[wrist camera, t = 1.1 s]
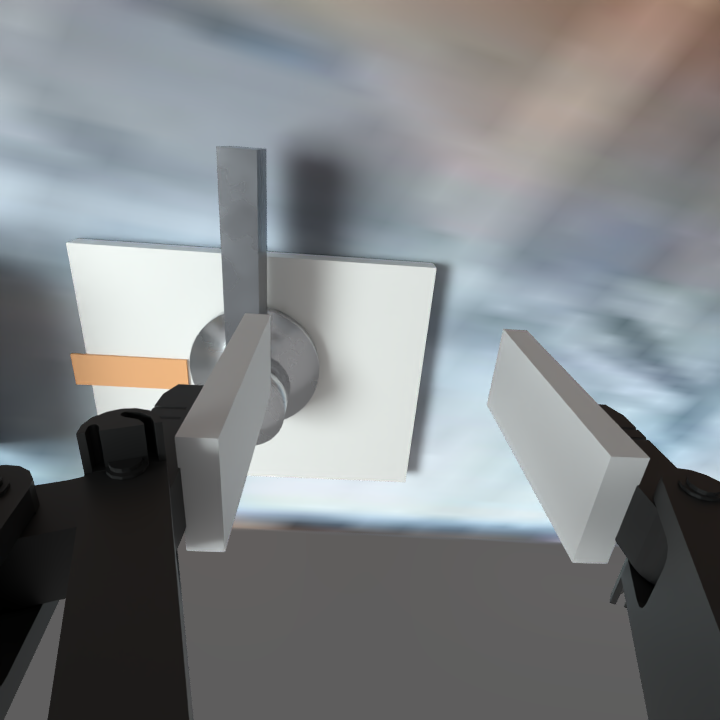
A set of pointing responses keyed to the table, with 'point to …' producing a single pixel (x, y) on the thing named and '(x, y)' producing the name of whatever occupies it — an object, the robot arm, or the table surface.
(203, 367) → the grey metal lever
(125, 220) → the table surface
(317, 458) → the base plate
